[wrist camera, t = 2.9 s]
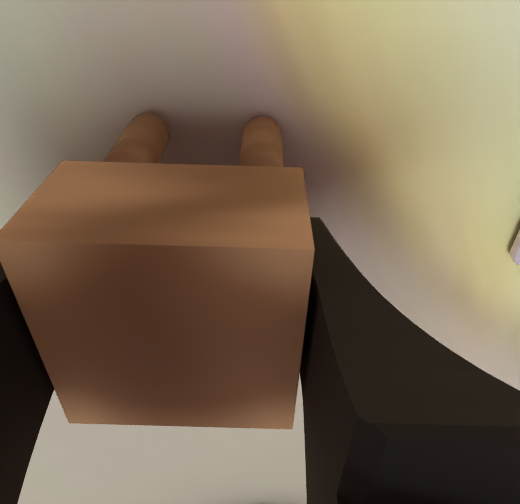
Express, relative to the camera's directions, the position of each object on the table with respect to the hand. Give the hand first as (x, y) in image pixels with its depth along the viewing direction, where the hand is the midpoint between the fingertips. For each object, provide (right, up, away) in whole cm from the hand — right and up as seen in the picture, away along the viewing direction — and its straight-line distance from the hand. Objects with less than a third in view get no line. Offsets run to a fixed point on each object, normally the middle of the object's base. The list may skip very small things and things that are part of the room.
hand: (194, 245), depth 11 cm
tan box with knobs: (0, +2, +3) cm, 3 cm away
